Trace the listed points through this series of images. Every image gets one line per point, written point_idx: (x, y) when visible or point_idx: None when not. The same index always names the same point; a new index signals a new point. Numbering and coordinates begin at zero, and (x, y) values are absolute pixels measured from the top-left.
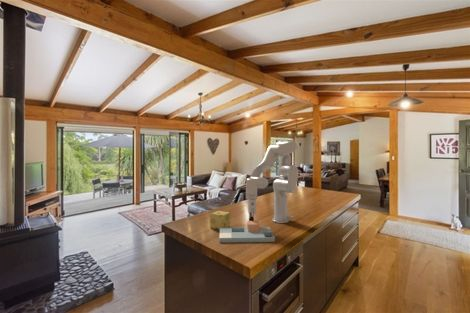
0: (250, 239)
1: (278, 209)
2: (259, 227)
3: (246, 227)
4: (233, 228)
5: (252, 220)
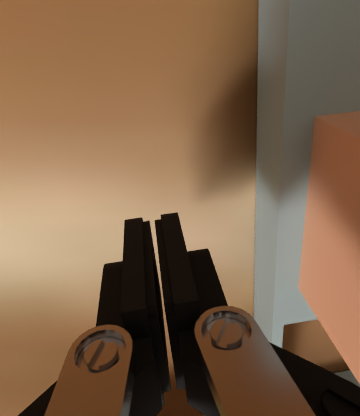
0: None
1: None
2: (298, 77)
3: (276, 296)
4: None
5: (218, 288)
